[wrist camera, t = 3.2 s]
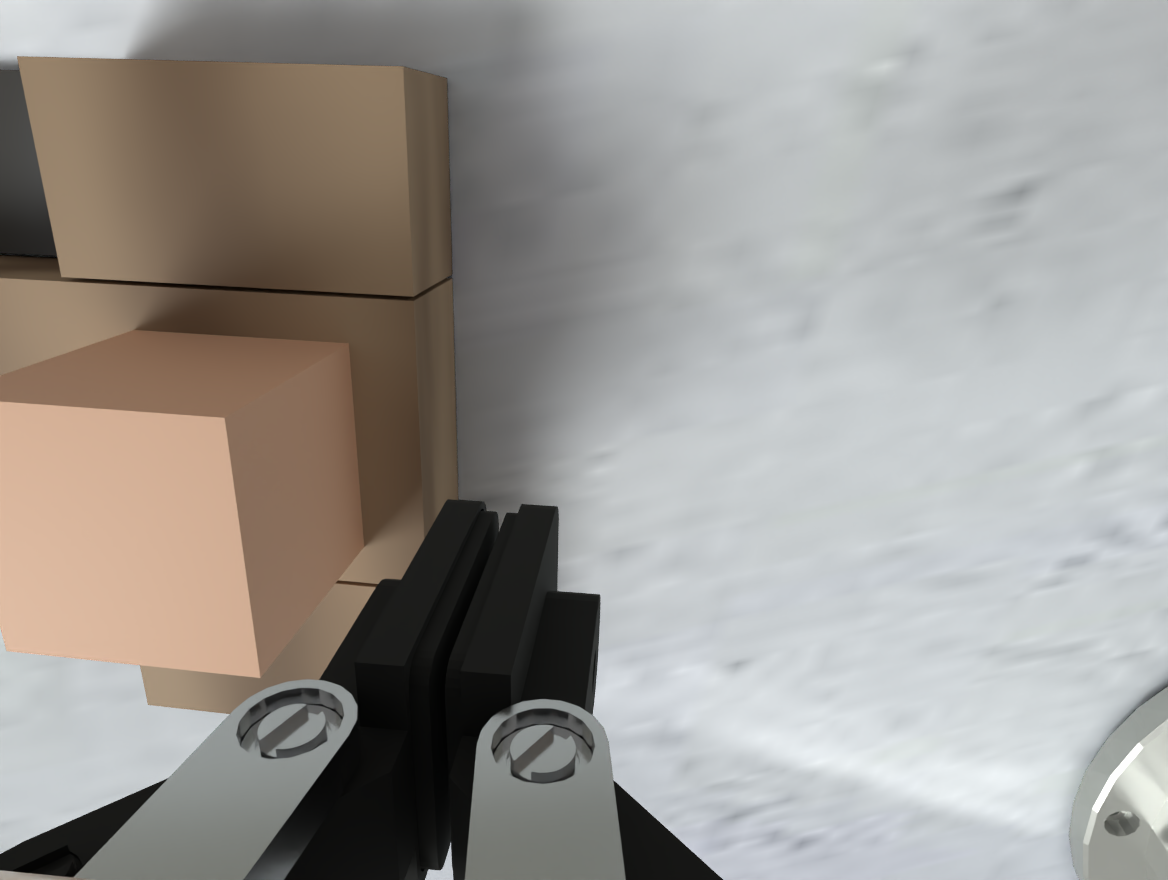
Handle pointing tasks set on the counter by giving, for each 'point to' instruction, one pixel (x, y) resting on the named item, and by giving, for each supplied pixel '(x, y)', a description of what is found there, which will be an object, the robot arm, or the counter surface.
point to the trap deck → (248, 263)
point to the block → (175, 498)
